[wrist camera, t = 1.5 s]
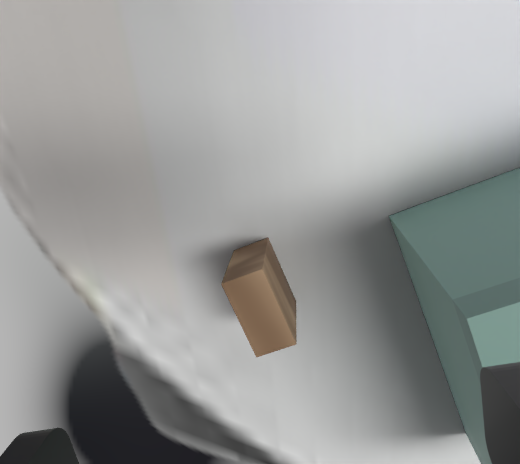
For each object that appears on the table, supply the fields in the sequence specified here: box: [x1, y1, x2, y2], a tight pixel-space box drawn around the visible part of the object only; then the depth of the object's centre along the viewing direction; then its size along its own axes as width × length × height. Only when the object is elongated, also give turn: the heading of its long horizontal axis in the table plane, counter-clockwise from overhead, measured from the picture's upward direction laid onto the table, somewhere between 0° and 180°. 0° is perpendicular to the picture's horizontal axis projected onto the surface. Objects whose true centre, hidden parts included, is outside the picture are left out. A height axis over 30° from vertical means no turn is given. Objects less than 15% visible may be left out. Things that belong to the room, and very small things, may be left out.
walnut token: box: [221, 238, 296, 357], centre depth 28 cm, size 2×5×6 cm, turn 23°
